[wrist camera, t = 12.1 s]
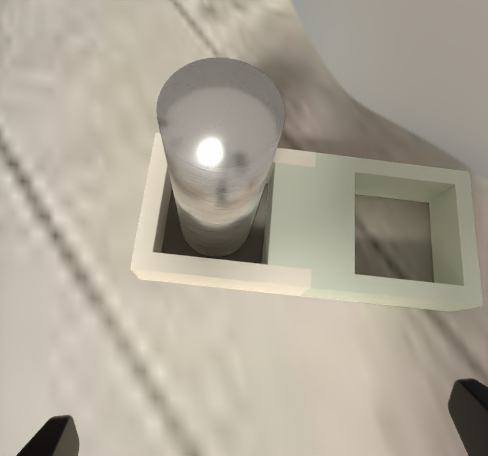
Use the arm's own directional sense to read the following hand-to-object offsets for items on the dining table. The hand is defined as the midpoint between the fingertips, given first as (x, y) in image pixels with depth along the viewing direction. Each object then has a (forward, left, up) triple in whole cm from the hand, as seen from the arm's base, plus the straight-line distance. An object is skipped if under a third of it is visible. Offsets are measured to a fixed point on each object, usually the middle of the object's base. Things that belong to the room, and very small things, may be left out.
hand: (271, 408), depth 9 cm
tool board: (+6, +7, -14) cm, 17 cm away
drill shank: (+1, +9, -14) cm, 16 cm away
